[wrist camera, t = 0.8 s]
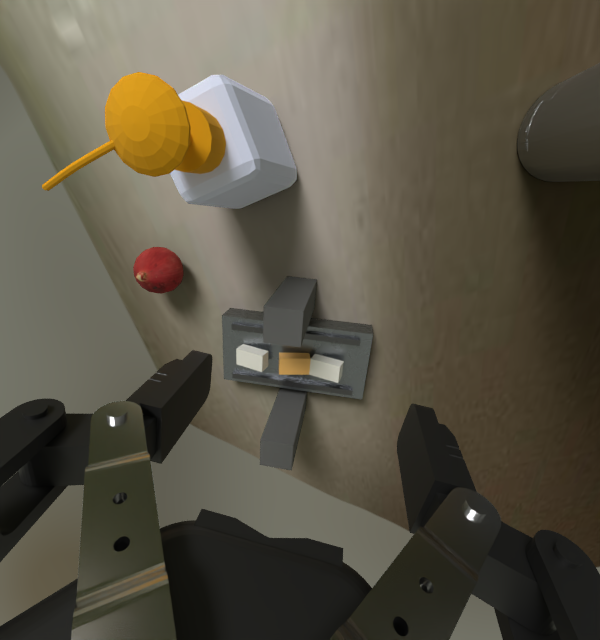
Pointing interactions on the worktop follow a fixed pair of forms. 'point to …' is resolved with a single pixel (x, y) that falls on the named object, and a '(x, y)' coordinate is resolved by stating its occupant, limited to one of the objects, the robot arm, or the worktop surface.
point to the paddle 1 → (252, 357)
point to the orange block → (294, 363)
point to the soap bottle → (197, 139)
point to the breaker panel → (319, 339)
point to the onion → (158, 270)
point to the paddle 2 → (326, 368)
